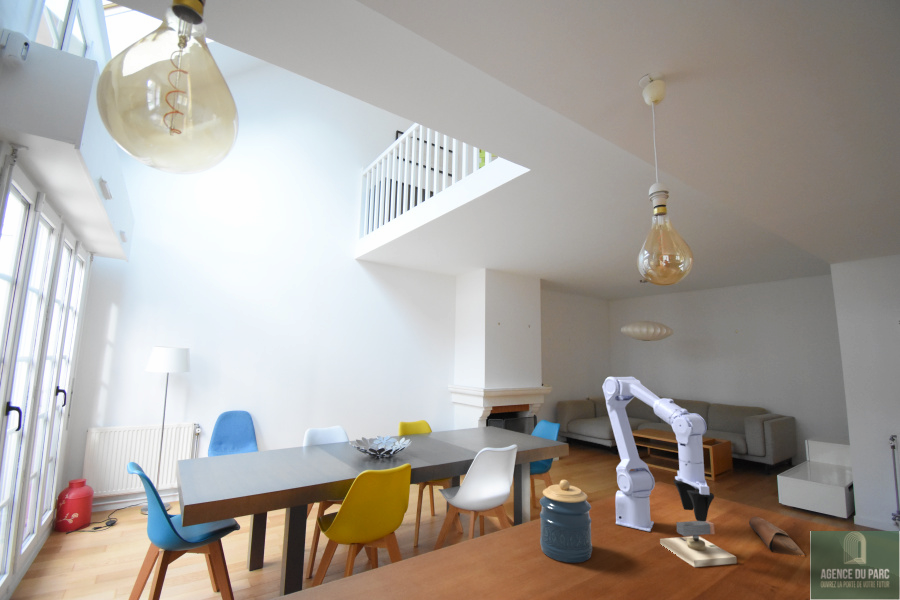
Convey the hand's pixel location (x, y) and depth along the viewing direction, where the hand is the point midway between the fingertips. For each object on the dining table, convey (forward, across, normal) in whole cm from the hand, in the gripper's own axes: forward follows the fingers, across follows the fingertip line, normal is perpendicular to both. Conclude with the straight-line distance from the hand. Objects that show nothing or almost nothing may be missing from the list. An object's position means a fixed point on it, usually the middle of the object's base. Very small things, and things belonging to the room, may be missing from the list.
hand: (694, 514), depth 107 cm
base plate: (+9, 0, 0) cm, 9 cm away
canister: (+10, +5, -34) cm, 35 cm away
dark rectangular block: (+6, 0, 0) cm, 6 cm away
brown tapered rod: (+10, -12, +26) cm, 30 cm away
